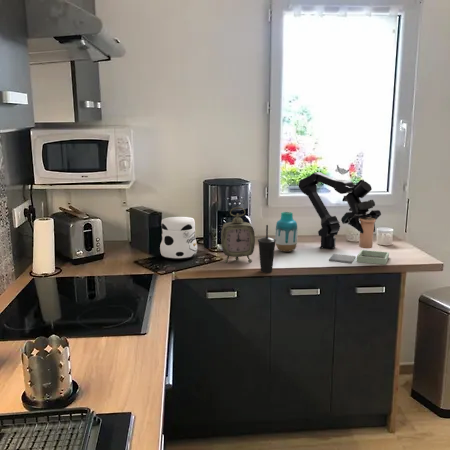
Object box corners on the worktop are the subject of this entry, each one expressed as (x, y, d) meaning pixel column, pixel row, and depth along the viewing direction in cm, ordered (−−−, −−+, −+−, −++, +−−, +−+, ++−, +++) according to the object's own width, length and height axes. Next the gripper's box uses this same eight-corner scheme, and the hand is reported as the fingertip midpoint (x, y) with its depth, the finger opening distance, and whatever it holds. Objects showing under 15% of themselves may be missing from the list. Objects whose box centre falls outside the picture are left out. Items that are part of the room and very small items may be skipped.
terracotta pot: (356, 247, 230) (358, 219, 227) (358, 244, 236) (360, 216, 233) (372, 249, 227) (374, 221, 224) (374, 245, 234) (376, 217, 231)
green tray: (356, 261, 229) (356, 256, 229) (361, 254, 240) (361, 249, 240) (385, 264, 224) (385, 259, 224) (388, 257, 235) (389, 252, 235)
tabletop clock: (222, 264, 225) (222, 209, 220) (220, 259, 234) (220, 205, 229) (254, 263, 226) (255, 208, 221) (252, 258, 235) (252, 205, 230)
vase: (272, 252, 245) (273, 213, 241) (278, 247, 254) (279, 210, 250) (293, 254, 241) (294, 215, 237) (299, 249, 250) (300, 211, 246)
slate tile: (329, 260, 230) (329, 259, 230) (333, 255, 239) (333, 253, 239) (351, 263, 226) (351, 261, 226) (355, 257, 235) (355, 256, 235)
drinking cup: (277, 269, 218) (278, 223, 214) (273, 274, 211) (273, 227, 207) (260, 267, 220) (260, 222, 216) (255, 272, 213) (255, 226, 209)
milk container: (202, 259, 233) (202, 221, 229) (166, 264, 226) (165, 224, 223) (190, 251, 249) (189, 215, 245) (156, 254, 242) (154, 217, 238)
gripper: (346, 194, 226) (360, 224, 219) (380, 192, 233) (394, 220, 226) (335, 209, 235) (348, 237, 228) (368, 206, 242) (381, 234, 235)
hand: (368, 232), depth 229 cm, fingers closed on terracotta pot, 6 cm apart
